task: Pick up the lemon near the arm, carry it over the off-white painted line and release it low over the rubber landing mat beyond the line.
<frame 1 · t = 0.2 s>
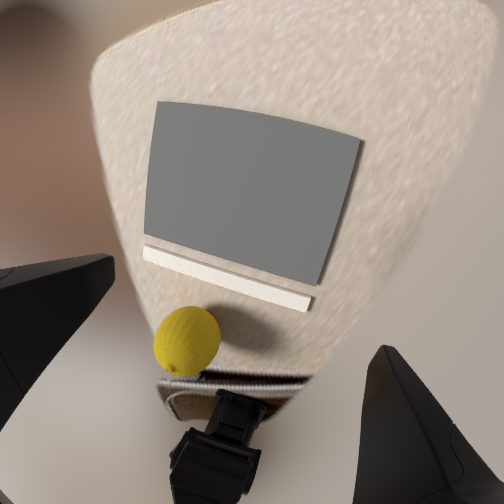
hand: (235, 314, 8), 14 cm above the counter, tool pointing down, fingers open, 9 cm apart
landing mat: (236, 188, 21), on the counter
lemon: (205, 314, 27), on the counter
throw line: (221, 276, 25), on the counter
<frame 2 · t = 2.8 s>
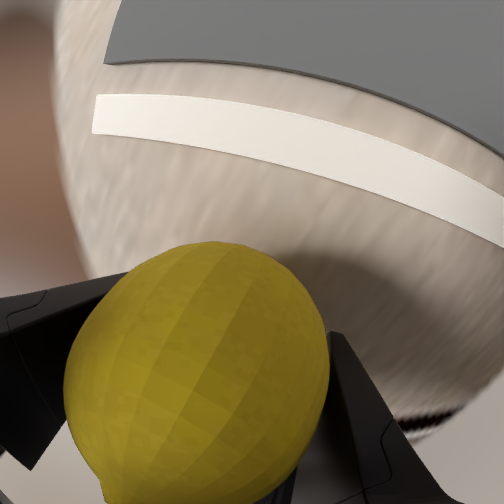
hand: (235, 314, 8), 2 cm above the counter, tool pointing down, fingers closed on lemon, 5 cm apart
lemon: (251, 284, 10), on the counter, touching gripper
throw line: (319, 147, 7), on the counter
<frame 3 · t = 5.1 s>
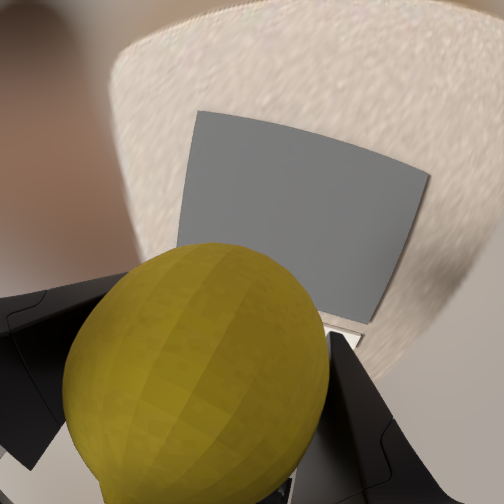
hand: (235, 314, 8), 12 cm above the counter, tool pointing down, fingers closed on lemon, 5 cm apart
landing mat: (291, 219, 19), on the counter
lemon: (250, 284, 10), point 10 cm above the counter, touching gripper
throw line: (264, 313, 22), on the counter
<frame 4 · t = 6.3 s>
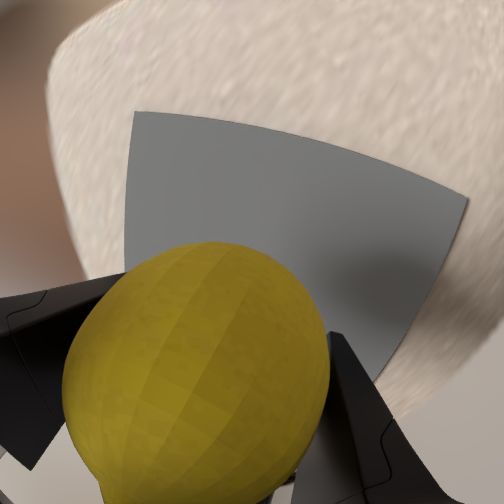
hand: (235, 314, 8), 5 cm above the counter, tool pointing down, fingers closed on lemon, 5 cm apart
landing mat: (267, 262, 13), on the counter
lemon: (250, 284, 10), point 4 cm above the counter, touching gripper
when the fingers open (4 cm above the counter, at t = 7.4 s): lemon drops 2 cm, resting on landing mat.
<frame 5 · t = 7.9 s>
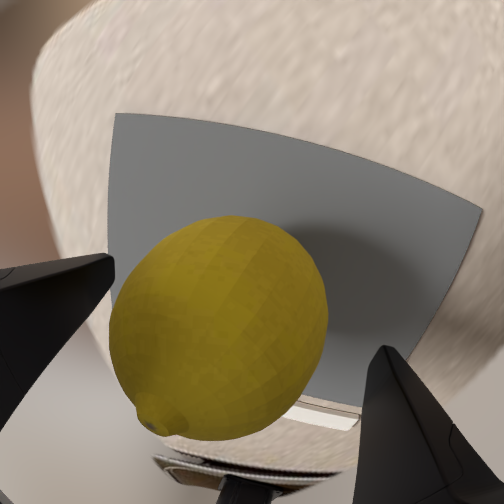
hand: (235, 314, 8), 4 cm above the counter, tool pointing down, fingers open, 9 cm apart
landing mat: (259, 279, 12), on the counter
lemon: (263, 262, 11), resting on landing mat
throw line: (231, 388, 16), on the counter
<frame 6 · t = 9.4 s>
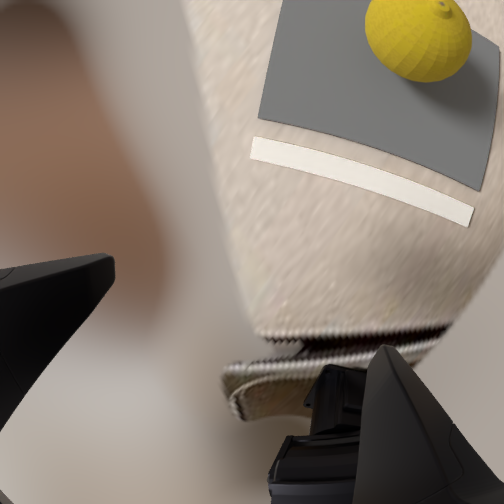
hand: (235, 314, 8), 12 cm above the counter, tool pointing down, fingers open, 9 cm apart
landing mat: (396, 66, 13), on the counter
lemon: (398, 53, 12), resting on landing mat
throw line: (372, 178, 16), on the counter
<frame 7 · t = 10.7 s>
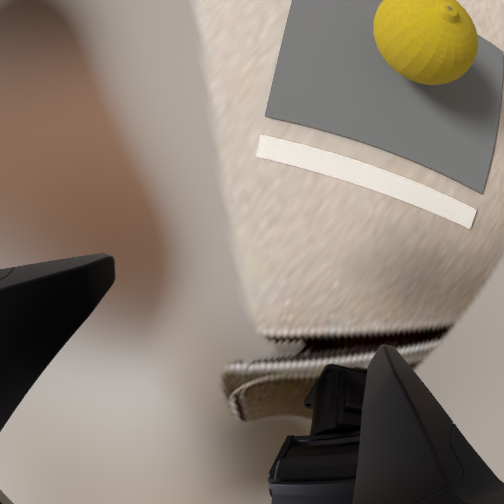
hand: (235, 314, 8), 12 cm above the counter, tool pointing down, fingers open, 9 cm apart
landing mat: (402, 68, 13), on the counter
lemon: (405, 56, 12), resting on landing mat
throw line: (377, 178, 16), on the counter
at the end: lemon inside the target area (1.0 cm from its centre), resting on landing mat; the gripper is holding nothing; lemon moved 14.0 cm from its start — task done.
